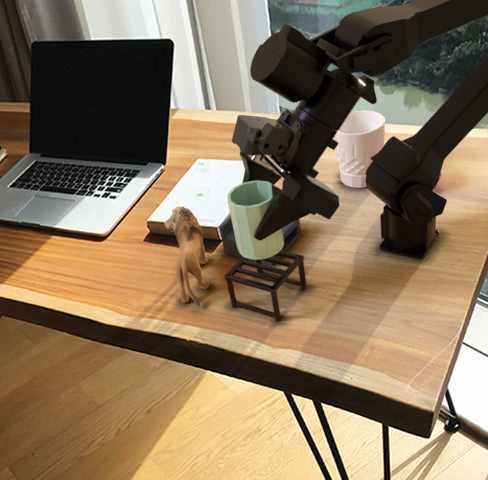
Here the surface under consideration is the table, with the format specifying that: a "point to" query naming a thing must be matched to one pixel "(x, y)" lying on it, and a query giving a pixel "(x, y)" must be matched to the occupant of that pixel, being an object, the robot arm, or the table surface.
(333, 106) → the robot arm
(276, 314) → the rack
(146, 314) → the table surface
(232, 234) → the shelf
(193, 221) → the lion figurine
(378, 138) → the white cup
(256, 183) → the tumbler
